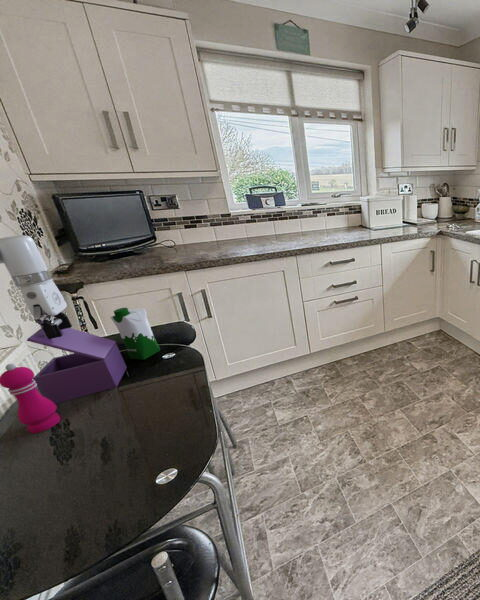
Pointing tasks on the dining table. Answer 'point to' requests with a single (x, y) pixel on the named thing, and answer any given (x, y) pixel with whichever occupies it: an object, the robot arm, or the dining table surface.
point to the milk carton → (135, 332)
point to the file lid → (75, 342)
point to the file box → (79, 375)
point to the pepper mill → (29, 399)
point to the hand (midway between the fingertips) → (60, 332)
